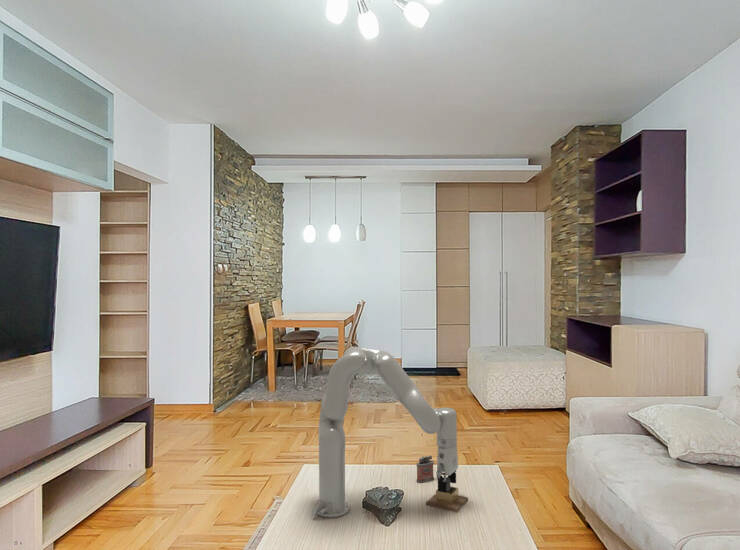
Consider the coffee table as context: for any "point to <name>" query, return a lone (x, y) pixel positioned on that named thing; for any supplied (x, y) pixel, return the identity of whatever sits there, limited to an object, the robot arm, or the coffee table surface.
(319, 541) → the coffee table surface
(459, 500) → the stacked peg stand
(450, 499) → the collar
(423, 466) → the lighter
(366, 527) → the coffee table surface
